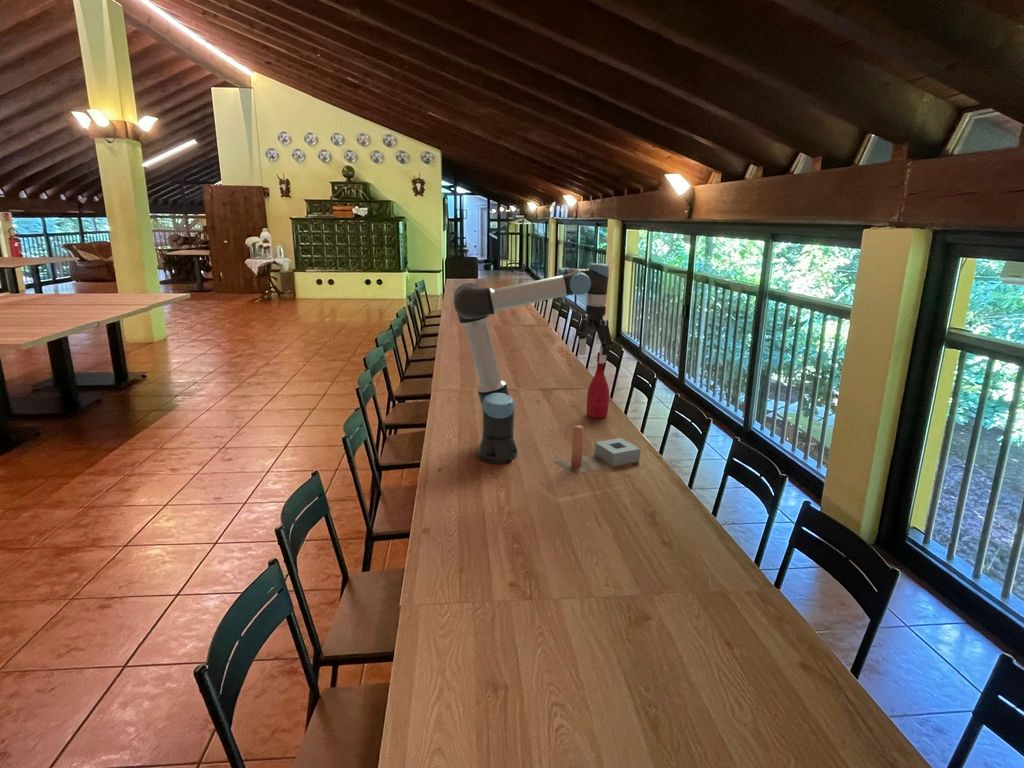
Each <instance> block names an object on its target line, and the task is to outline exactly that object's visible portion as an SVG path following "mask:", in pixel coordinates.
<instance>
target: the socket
mask: <svg viewBox="0 0 1024 768" xmlns="http://www.w3.org/2000/svg"><path fill="white" fill-rule="evenodd" d="M593 455H596V456H598V457H599V458H601V459H602V460H604V461H605V462H607V463H608V464H610V465H611V466H613V467H618V466H622V465H627V464H631V463H633V462H638V461H639V462H640V456H641V448H639V447H638V446H636V445H634V444H633V443H630V442H629V441H627V440H626V439H624V438H622V437H620V438H613V439H606V440H603V441H596V442H595V443H594V454H593ZM617 465H618V466H617Z"/></svg>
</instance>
